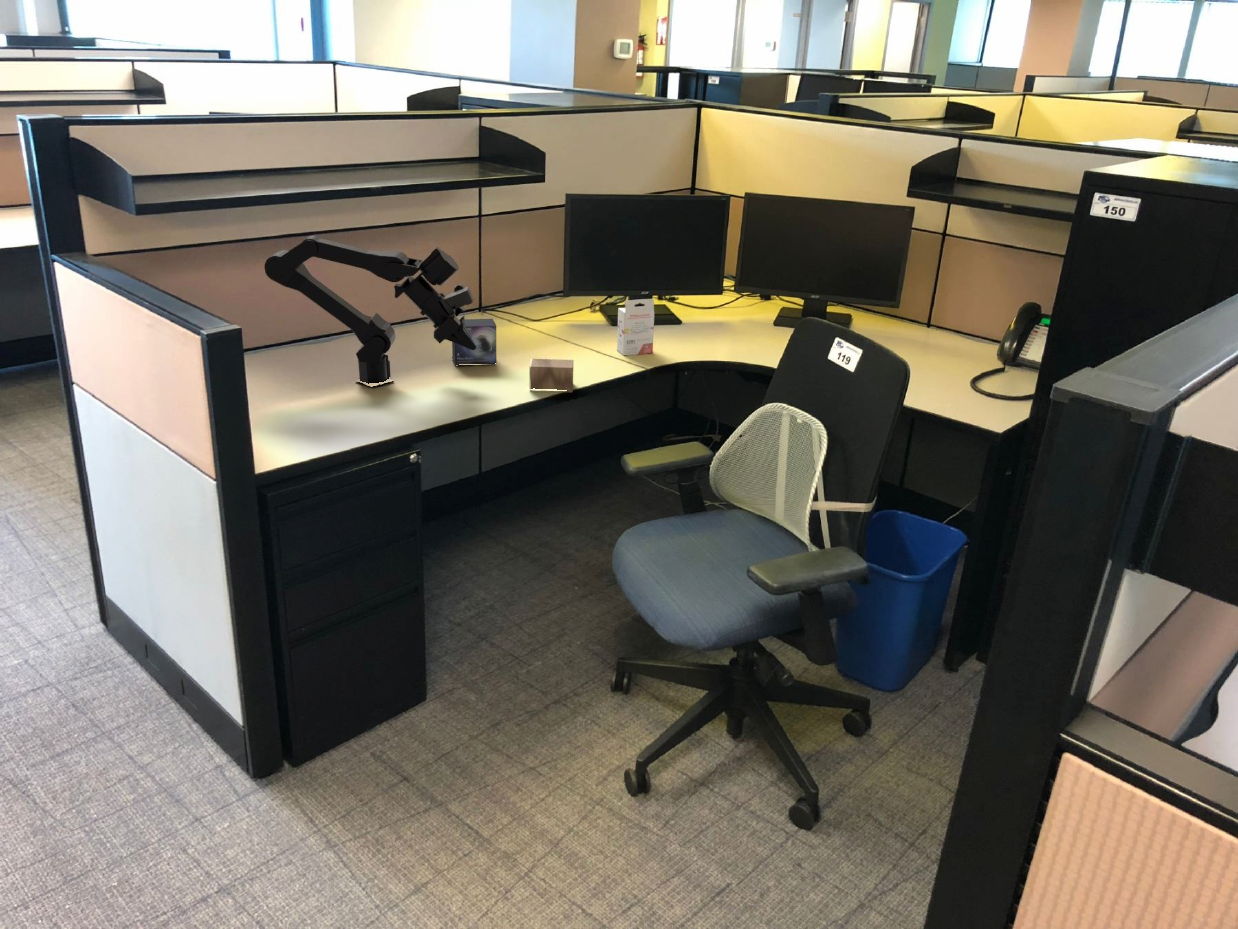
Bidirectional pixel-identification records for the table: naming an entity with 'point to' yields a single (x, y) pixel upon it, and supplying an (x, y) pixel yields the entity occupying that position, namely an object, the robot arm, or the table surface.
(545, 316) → the table surface
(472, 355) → the small box
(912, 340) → the table surface
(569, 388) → the walnut block
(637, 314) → the ink cartridge box
